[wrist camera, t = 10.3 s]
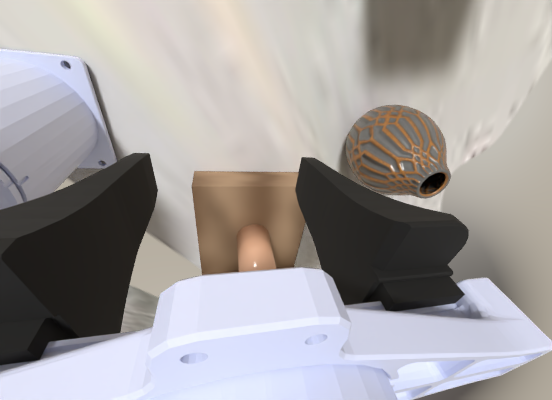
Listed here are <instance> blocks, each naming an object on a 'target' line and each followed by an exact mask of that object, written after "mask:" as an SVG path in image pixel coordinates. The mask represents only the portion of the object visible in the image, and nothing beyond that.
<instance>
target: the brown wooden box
mask: <svg viewBox="0 0 552 400" xmlns="http://www.w3.org/2000/svg"><path fill="white" fill-rule="evenodd" d="M298 173H299V172H213V171H194V177H193V183H192V193H193V201H194V209H195V218H196V226H197V235H198V243H199V252H200V260H201V269H202V275H207V274H220V273H232V272H239V267H238V252H237V233H238V232H239V231H240V230H241V229H242V228H243V227H245V226H248V225H261V226H263V227H265V228H266V229H267V230H268V232H269V237H270V241H271V246H272V251H273V255H274V260H275V265H276V269H282V268H294V263H295V260H296V256H297V252H298V248H299V245H300V241H301V237H302V233H303V230H304V226H305V222H306V221H305V219H304V217H303V214H302V212H301V209H300V207H299V204H298V200H297V196H296V192H295V188H296V183H297V178H298Z"/></svg>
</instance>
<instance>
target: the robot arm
mask: <svg viewBox="0 0 552 400" xmlns="http://www.w3.org/2000/svg"><path fill="white" fill-rule="evenodd" d="M64 61H67V62H68V63H69V64H70V65H71V69H69V68H67V67H66V66H65V65H64ZM101 161H104V162H105V163H106V164H103V163H101ZM76 168H105V169H103V170H101V171H99V172H97V173H95V174H93V175H91V176H89V177H87V178H85V179H83V180H81V181H79V182H77V183H75V184H73V185H70V186H68V187H66V188H64V189H61V190H58V191H56V192H54V191H55V190H56V189H57V188H58V187H59V186H60V185H61V184H62V183H63V182H64V181H65V180H66V179H67V178H68V176H69V175H70V174H71V173H72V172H73V171H74V170H75V169H76ZM157 192H158V189H157V185H156V181H155V176H154V172H153V167H152V163H151V158H150V154H149V153H133V154H131V155H129V156H127V157H125V158H123V159H121V160H119V161H117V159H116V156H115V153H114V150H113V146H112V143H111V140H110V137H109V134H108V131H107V128H106V125H105V122H104V119H103V116H102V113H101V109H100V106H99V103H98V100H97V97H96V94H95V91H94V88H93V85H92V82H91V79H90V76H89V72H88V69H87V66H86V64H85V62H84V61H83V60H82V59H80V58H79V57H75V56H67V55H57V54H47V53H38V52H28V51H18V50H8V49H0V400H413V399H416V398H419V397H423V396H426V395H430V394H433V393H436V392H440V391H443V390H447V389H450V388H454V387H458V386H461V385H465V384H468V383H472V382H476V381H480V380H484V379H488V378H493V377H497V376H500V375H503V374H505V373H507V372H509V371H511V370H513V369H515V368H517V367H519V366H521V365H523V364H525V363H527V362H529V361H531V360H533V359H536V358H538V357H540V356H542V355H544V354H546V353H548V352H550V351H552V341H551V340H550V339H549V338H548V337H547V336H546V335H545V334H544V333H543V332H542V331H541V330H540V329H539V328H538V327H537V326H536V325H535V324H534V323H533V322H532V321H531V320H530V319H529V318H528V317H527V316H526V315H525V314H524V313H523V312H522V311H521V310H520V309H519V308H518V307H517V306H516V305H515V304H514V303H512V301H511V300H510V299H509V298H507V296H506V295H505V294H503V292H501V291H500V290H499V289H498V288H497V287H496V286H495V285H494V284H493V283H492V282H491V281H490V280H489V279H488V278H475V279H466V280H462V281H459V282H457V283H455V282H454V281H453V280H452V279H451V278H450V276H451V275H452V274H453V271H452V270H451V268H449V266H448V263H449V262H450V261H451V260H452V259H453V258H454V257H455V256H456V254H457V253H458V252H459V251H460V250H461V249H462V247H463V246H464V245H465V244H466V241H467V239H468V229H467V227H466V226H465V225H464V224H463V223H462V222H460V221H459V220H458V219H457V218H456V217H454V216H453V215H451V214H447V213H442V212H438V211H433V210H429V209H424V208H420V207H417V206H413V205H410V204H406V203H403V202H400V201H397V200H394V199H391V198H388V197H386V196H383V195H381V194H378V193H376V192H373V191H371V190H369V189H367V188H365V187H363V186H361V185H359V184H357V183H355V182H353V181H351V180H350V179H348V178H346V177H344V176H343V175H341V174H339V173H338V172H336V171H335V170H333V169H332V168H330V167H328V166H327V165H325V164H324V163H322V162H320V161H319V160H317V159H315V158H306V157H302V159H301V164H300V168H299V173H298V178H297V183H296V188H295V192H296V196H297V200H298V204H299V207H300V209H301V212H302V214H303V217H304V219H305V221H306V224H307V226H308V228H309V231H310V233H311V236H312V238H313V241H314V243H315V247H316V250H317V253H318V257H319V260H320V264H321V268H322V270H321V269H316V268H306V267H295V268H282V269H270V270H257V271H245V272H232V273H220V274H207V275H200V276H196V277H191V278H187V279H183V280H180V281H178V282H176V283H175V284H173V285H172V286H171V287H169V288H168V289H166V290H165V291H163V292H162V293H161V294H160V297H159V301H158V306H157V310H156V315H155V319H154V324H153V327H150V328H146V329H143V330H140V331H133V332H125V333H120V331H121V325H122V319H123V314H124V308H125V303H126V298H127V293H128V289H129V284H130V280H131V275H132V271H133V267H134V263H135V259H136V255H137V252H138V249H139V246H140V244H141V241H142V239H143V236H144V234H145V231H146V228H147V226H148V223H149V221H150V218H151V216H152V213H153V210H154V207H155V203H156V198H157Z"/></svg>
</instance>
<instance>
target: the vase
mask: <svg viewBox="0 0 552 400" xmlns="http://www.w3.org/2000/svg"><path fill="white" fill-rule="evenodd" d="M346 156H347V160H348V163H349V166H350V168H351V169H352V171H353V173H354V174H355V175H356V177H357V178H358V179H359V180H360V181H361V182H362V183H364V184H365V185H366V186H368V187H369V188H371V189H373V190H375V191H378V192H380V193H383V194H388V195H412V196H416V197H419V198H430V197H433V196H435V195H437V194H438V193H440V192H441V191H442V190H443V189H444V188H445V187H446V186H447V185H448V183H449V181H450V178H451V174H450V171H449V169H448V167H447V164H446V143H445V139H444V136H443V134H442V132H441V130H440V129H439V127H438V126H437V125H436V123H435V122H434V121H433V120H432V119H431V118H429V117H428V116H427V115H426V114H424V113H422V112H420V111H418V110H416V109H413V108H410V107H407V106H402V105H386V106H382V107H378V108H375V109H373V110H371V111H369V112H367V113H366V114H364V115H363V116H362V117H361V118H359V119H358V120H357V122H356V123H355V124H354V125H353V127H352V129H351V130H350V132H349V134H348V137H347V141H346Z"/></svg>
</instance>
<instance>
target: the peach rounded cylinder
mask: <svg viewBox="0 0 552 400" xmlns="http://www.w3.org/2000/svg"><path fill="white" fill-rule="evenodd" d="M237 252H238V267H239V272H245V271H257V270H270V269H276V265H275V260H274V255H273V251H272V246H271V241H270V237H269V232H268V230H267V229H266V228H265V227H263V226H261V225H248V226H245V227H243V228H242V229H241V230H240V231H239V232H238V233H237Z"/></svg>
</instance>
